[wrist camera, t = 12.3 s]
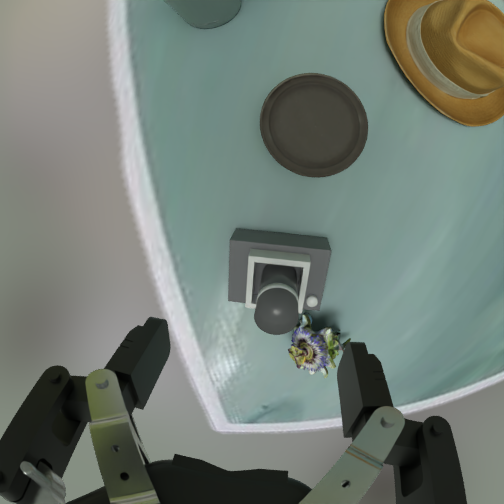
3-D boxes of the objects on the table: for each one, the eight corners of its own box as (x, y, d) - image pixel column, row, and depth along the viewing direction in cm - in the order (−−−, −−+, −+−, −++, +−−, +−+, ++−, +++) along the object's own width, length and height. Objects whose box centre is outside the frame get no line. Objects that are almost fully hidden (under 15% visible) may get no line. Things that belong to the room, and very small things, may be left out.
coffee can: (355, 125, 36) (388, 121, 23) (311, 177, 40) (323, 199, 27) (298, 79, 34) (303, 52, 21) (254, 134, 38) (237, 133, 25)
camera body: (236, 228, 44) (226, 246, 37) (326, 237, 43) (333, 258, 36) (233, 284, 48) (225, 310, 41) (316, 293, 47) (320, 320, 40)
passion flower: (298, 311, 55) (286, 311, 44) (353, 313, 52) (355, 314, 40) (294, 366, 53) (280, 380, 42) (348, 370, 49) (349, 385, 38)
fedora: (348, -8, 27) (365, -45, 16) (471, -13, 19) (502, -32, 8) (421, 142, 35) (462, 149, 24) (526, 112, 27) (566, 116, 17)
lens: (254, 278, 41) (244, 319, 32) (276, 253, 39) (272, 290, 30) (282, 297, 42) (279, 341, 33) (304, 273, 40) (308, 315, 31)
